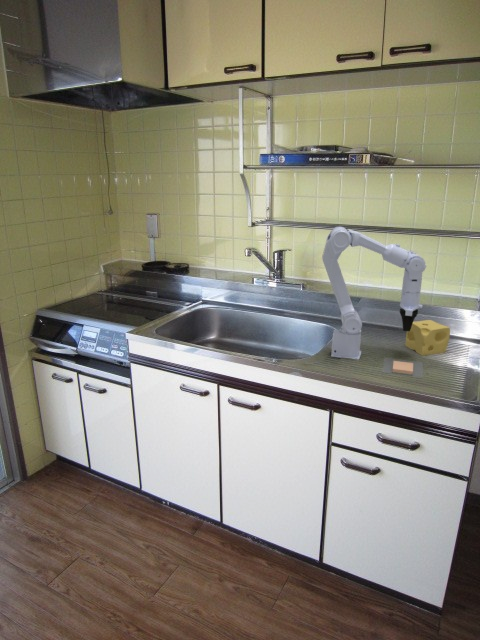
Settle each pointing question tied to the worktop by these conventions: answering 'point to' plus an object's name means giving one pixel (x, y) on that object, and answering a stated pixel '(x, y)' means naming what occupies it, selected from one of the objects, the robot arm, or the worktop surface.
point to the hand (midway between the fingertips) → (406, 330)
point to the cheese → (428, 337)
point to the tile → (402, 368)
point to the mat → (416, 365)
